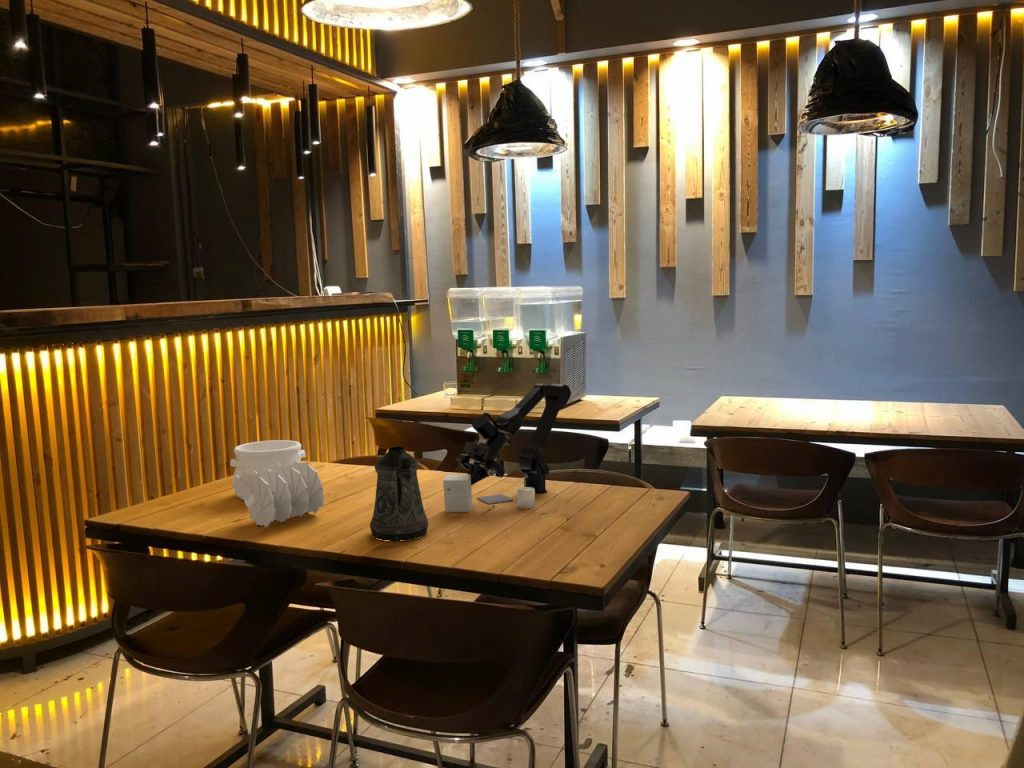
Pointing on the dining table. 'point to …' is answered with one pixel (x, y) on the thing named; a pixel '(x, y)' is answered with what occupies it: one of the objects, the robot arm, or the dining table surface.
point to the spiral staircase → (280, 492)
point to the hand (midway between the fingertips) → (466, 486)
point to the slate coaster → (495, 499)
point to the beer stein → (398, 498)
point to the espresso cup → (526, 497)
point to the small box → (457, 493)
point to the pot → (265, 456)
